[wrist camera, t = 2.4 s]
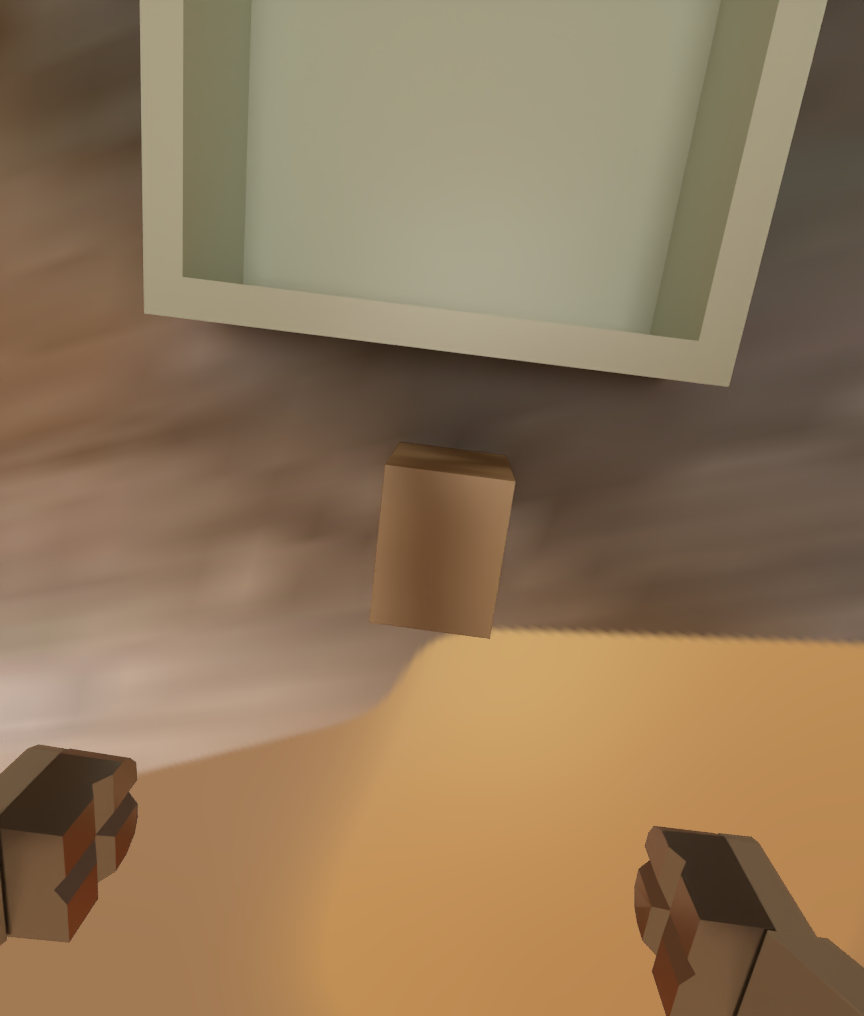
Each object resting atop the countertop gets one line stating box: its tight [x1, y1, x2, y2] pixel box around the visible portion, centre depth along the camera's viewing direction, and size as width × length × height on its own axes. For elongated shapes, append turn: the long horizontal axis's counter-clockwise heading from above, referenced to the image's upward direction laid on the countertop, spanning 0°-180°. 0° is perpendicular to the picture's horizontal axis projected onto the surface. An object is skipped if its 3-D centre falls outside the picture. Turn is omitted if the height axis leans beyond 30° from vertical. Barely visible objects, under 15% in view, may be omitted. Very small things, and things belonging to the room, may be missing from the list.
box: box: [140, 0, 827, 387], centre depth 18 cm, size 18×18×6 cm
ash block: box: [369, 442, 515, 639], centre depth 23 cm, size 4×6×5 cm
